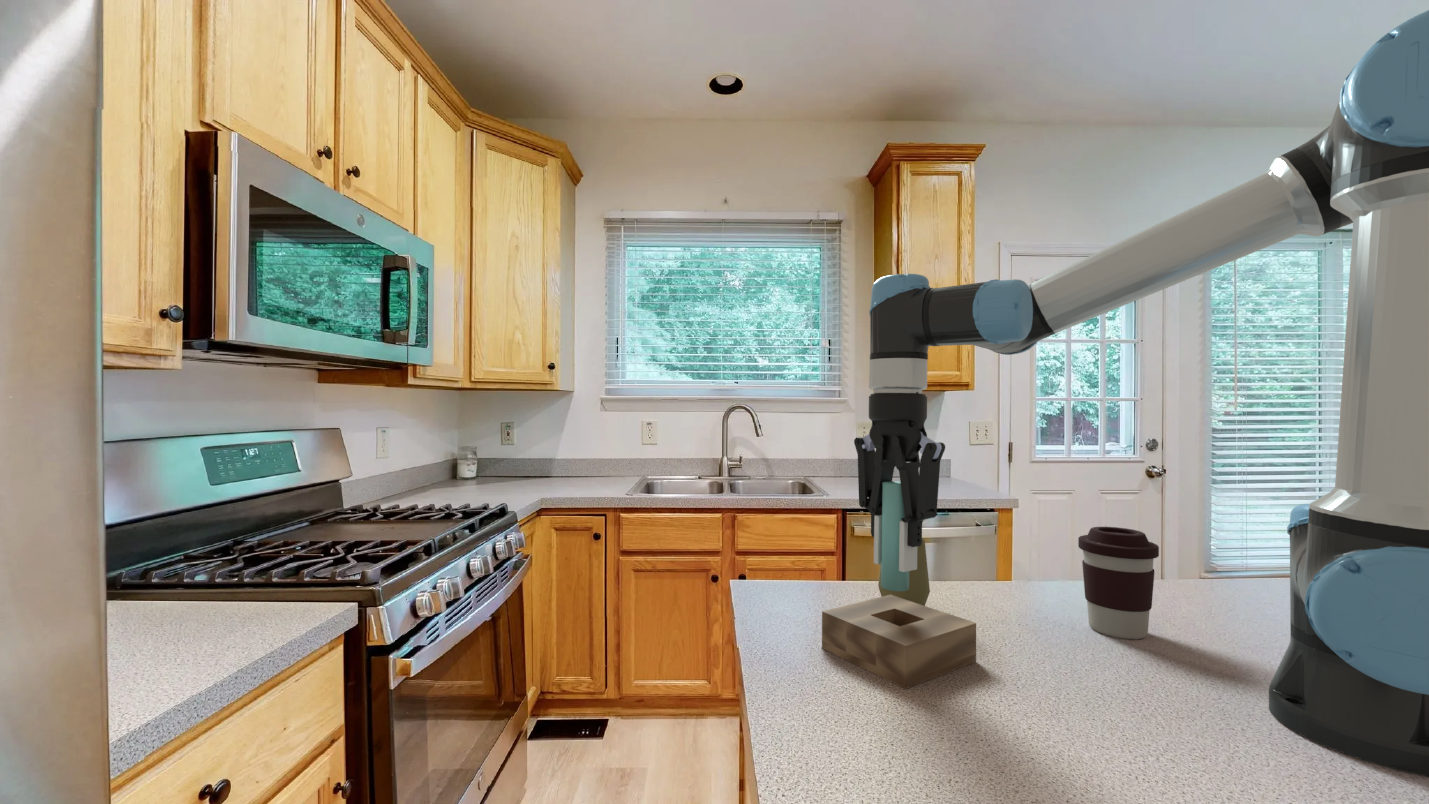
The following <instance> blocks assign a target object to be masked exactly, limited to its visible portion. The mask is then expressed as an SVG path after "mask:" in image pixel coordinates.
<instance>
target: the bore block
mask: <svg viewBox="0 0 1429 804" xmlns="http://www.w3.org/2000/svg"><path fill="white" fill-rule="evenodd" d="M821 649H824V650H825V651H827V652H830V653H832V654H833V655H836V656H838V657H839V658H842V659H843V660H846V661H848V662H850V663H852V664H854V665H856V666H859V667H861V668H862V669H864V670H866V671H869V672H871V673H872V674H874V675H877V676H879V677H880V678H883V679H885V680H887V681H889V682H891V683H893V684H895V685H897V686H899V687H902V688H903V689H905V690H906V689H909V688H912V687H914V686H917V685H919V684H921V683H925V682H927V681H929V680H932V679H935V678H938V677H940V676H943V675H945V674H947V673H950V672H952V671H956V670H958V669H960V668H963V667H967V666H968V665H972V664H974V663H975V662H976V663H977V622H975V621H972V620H968V619H965V618H962V617H959V616H956V615H954V614H950V613H948V612H944V611H942V610H938V609H935V608H932V607H929V606H926V605H925V606H923V605H920V604H917V603H914V602H911V601H908V600H905V599H902V598H899V597H896V596H893V595H887V596H883V597H881V596H879V597H875V598H871V599H867V600H861V601H859V602H856V603H851V604H846V605H843V606H838V607H835V608H831V609H825V610H822V611H821Z"/></svg>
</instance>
